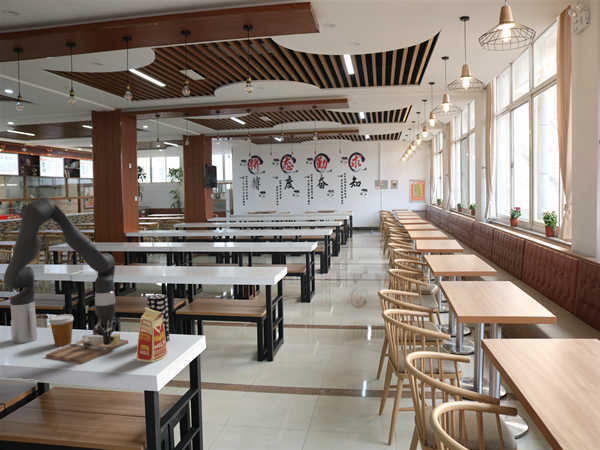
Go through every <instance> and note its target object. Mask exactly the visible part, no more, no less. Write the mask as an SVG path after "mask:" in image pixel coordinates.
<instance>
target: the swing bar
mask: <svg viewBox="0 0 600 450" xmlns="http://www.w3.org/2000/svg"><path fill="white" fill-rule="evenodd" d="M120 339H121V334H120V333H115V334H111V344H118V343H120ZM82 340H83V345H84V346H88V345H92V344H104V343H103V336H100V335H93V333H92V334H84V335H82Z"/></svg>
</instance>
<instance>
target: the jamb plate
mask: <svg viewBox="0 0 600 450" xmlns="http://www.w3.org/2000/svg"><path fill="white" fill-rule="evenodd" d="M92 335H99V334H98V333H97V332H96V330H95V329H94V328H93V329H92ZM126 344H129V340H128V339H122V338H120V343H118V344H109V345H104V344H92V345H88V346H84V345H83V339H82V340H78V341H76V342H74V341H71V343H70V344H69V345H65V346H62V348H59V349H55V350H53V351H51V352H48V353H46V354H45V357H46V358H48V359H55V360H62V361H67V362H74V363H79V364H84V363H87V362H90V361H91V360H93V359H95V358H98V357H100V356H102V355H105V354H107V353H109V352H111V351H114V350H116V349H118V348H120V347H122V346H125V345H126Z"/></svg>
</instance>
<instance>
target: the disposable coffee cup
mask: <svg viewBox="0 0 600 450" xmlns="http://www.w3.org/2000/svg"><path fill="white" fill-rule="evenodd" d="M74 319H75V317H74V316H73V314H71V313H70V314H67V313H66V314H58V315H54V316H51V317H50V318H49V320H48V322H49V324H50V327H51V331H52V332H51V333H52V336H53V341H54V346H56V347H66V346H68V345H70V343H72V337H73V321H74Z"/></svg>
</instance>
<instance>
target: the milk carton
mask: <svg viewBox="0 0 600 450" xmlns="http://www.w3.org/2000/svg"><path fill="white" fill-rule="evenodd" d="M144 309H145V311H144V313H143V314H142V315H141V318H140V323H139V330H138V337H137V344H136V347H137V348H136V359H135V360H136V361H138V362H146V363H154V362H157V361H159V360H160V361H161V360H162V359H165V357H166V356H167V355H166V354H168V349H167V348H168V347H167V346H168V345H167V343H166V338H165V330H164V324H163V319H162V316H161V315H160V314H161V313H162V312H158V311H154V310H151V309H148V307H144ZM165 355H166V356H165Z"/></svg>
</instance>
